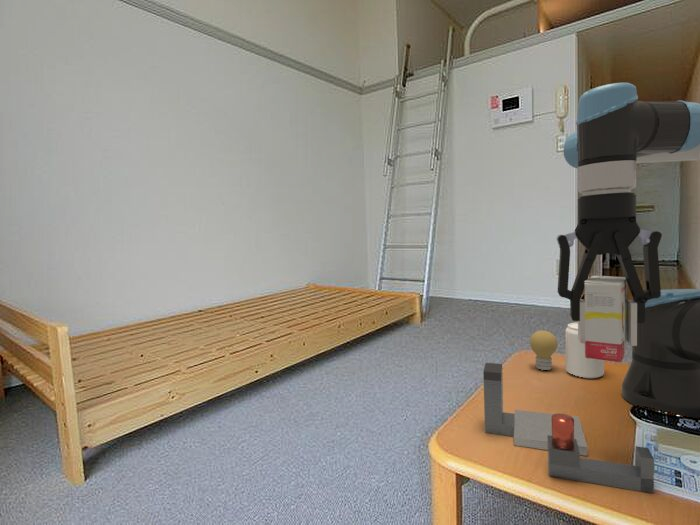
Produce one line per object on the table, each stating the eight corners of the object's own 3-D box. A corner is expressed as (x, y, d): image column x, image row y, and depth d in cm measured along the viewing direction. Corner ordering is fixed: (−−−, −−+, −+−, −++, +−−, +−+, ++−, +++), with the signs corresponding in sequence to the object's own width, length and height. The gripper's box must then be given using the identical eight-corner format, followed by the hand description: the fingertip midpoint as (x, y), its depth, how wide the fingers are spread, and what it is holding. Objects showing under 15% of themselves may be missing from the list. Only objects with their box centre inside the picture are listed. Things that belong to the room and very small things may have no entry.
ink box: (622, 363, 59) (621, 283, 58) (583, 358, 62) (582, 282, 62) (628, 348, 66) (628, 275, 65) (593, 344, 69) (592, 274, 68)
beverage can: (564, 367, 106) (563, 321, 105) (600, 369, 103) (600, 322, 102) (567, 378, 98) (567, 329, 97) (606, 381, 95) (606, 330, 94)
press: (578, 424, 76) (578, 364, 75) (587, 456, 66) (587, 387, 65) (488, 413, 82) (486, 357, 81) (483, 440, 72) (482, 377, 71)
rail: (647, 480, 59) (647, 447, 59) (653, 493, 56) (654, 458, 56) (547, 464, 64) (547, 434, 64) (549, 475, 61) (548, 444, 61)
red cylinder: (576, 454, 63) (576, 413, 62) (579, 468, 59) (579, 426, 59) (547, 449, 64) (547, 410, 64) (549, 463, 61) (548, 422, 60)
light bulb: (557, 366, 106) (557, 328, 105) (557, 374, 101) (557, 335, 100) (531, 363, 109) (530, 327, 108) (529, 371, 104) (528, 333, 103)
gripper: (673, 189, 62) (671, 338, 64) (536, 199, 69) (538, 333, 71) (693, 185, 55) (690, 353, 57) (538, 196, 62) (540, 345, 64)
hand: (606, 341), depth 64 cm, fingers closed on ink box, 6 cm apart
